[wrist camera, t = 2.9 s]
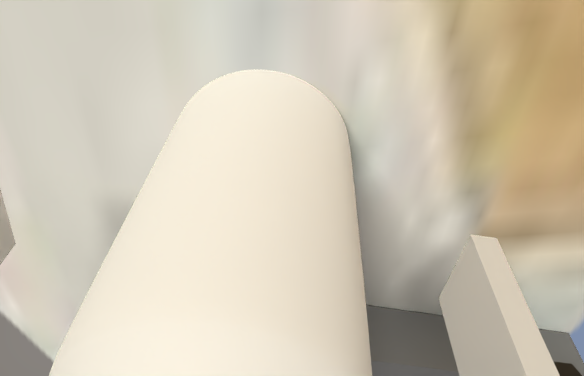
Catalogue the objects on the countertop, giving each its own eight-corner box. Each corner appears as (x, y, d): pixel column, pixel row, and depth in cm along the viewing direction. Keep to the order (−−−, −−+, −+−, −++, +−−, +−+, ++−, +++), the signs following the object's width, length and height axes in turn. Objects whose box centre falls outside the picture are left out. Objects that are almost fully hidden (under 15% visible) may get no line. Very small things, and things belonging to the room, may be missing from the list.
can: (342, 217, 20) (361, 581, 10) (187, 208, 20) (58, 560, 10) (359, 68, 16) (420, 426, 6) (167, 59, 16) (-71, 395, 6)
